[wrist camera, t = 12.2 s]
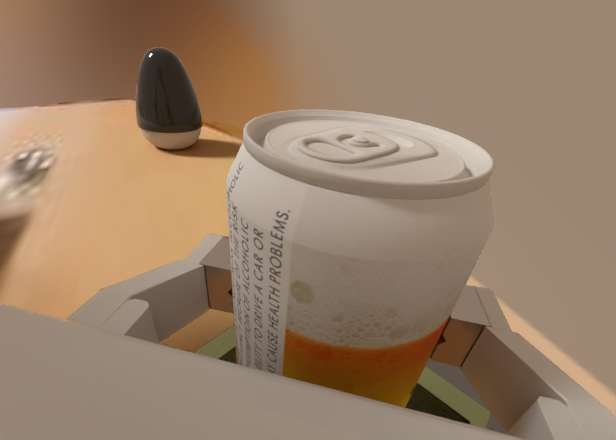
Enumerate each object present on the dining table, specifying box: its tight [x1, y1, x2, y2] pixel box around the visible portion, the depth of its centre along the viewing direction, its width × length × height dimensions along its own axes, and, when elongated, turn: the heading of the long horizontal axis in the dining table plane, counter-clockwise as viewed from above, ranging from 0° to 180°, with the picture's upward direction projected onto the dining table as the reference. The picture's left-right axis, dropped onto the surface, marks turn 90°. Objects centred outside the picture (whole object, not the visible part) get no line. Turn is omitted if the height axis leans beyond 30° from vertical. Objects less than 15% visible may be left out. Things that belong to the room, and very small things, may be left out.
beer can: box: [226, 110, 494, 408], centre depth 10 cm, size 6×6×15 cm
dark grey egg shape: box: [136, 47, 203, 150], centre depth 49 cm, size 10×10×15 cm
